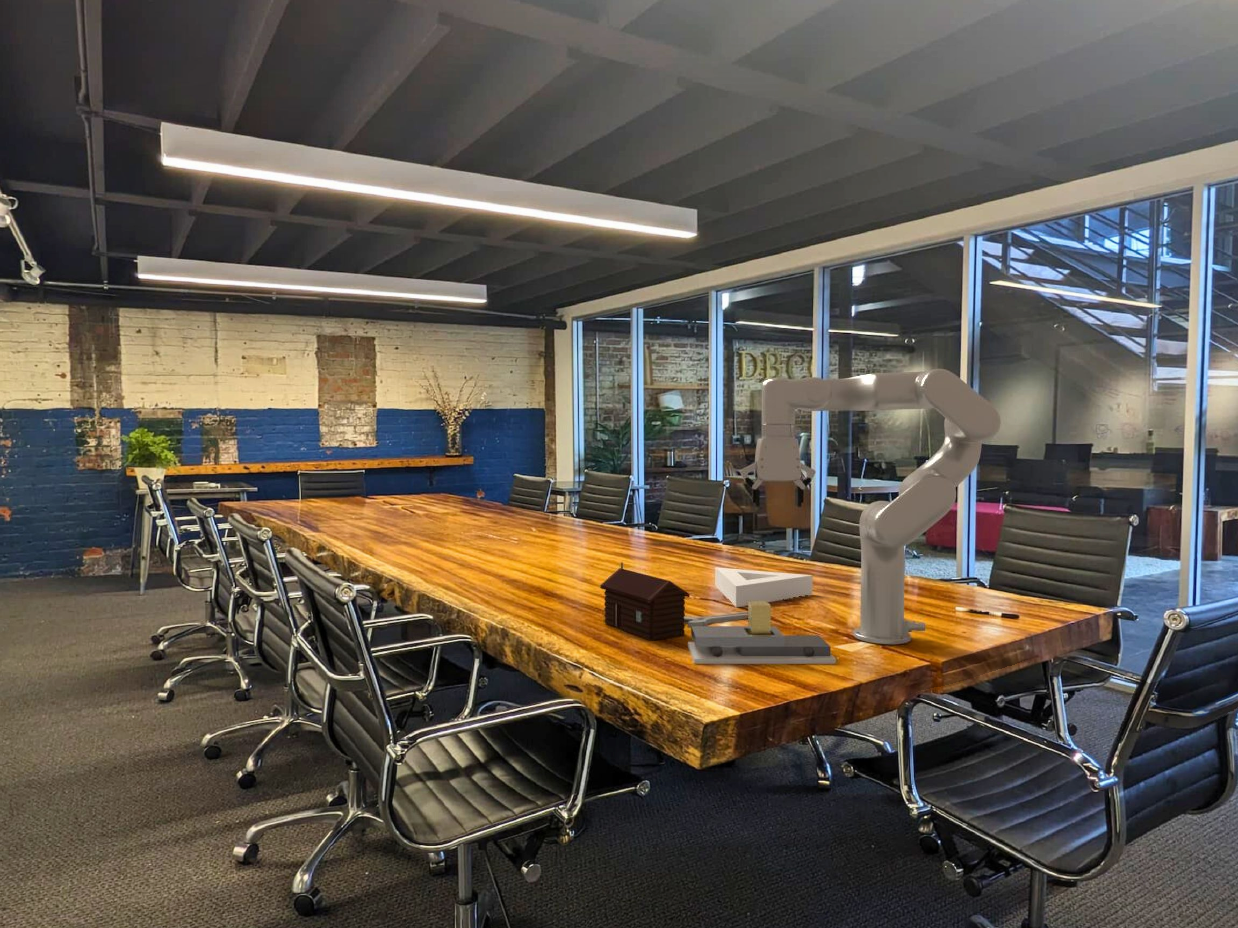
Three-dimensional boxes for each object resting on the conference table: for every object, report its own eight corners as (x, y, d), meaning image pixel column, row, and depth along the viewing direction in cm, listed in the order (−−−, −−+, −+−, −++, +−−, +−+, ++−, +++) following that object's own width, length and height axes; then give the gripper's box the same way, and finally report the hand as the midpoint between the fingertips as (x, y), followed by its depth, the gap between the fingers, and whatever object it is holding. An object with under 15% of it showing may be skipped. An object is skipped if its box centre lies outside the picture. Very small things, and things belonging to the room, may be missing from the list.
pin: (766, 647, 165) (766, 601, 165) (770, 652, 161) (770, 605, 161) (748, 647, 165) (748, 601, 164) (751, 652, 161) (751, 605, 160)
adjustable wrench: (760, 616, 200) (760, 609, 200) (773, 621, 194) (774, 614, 194) (674, 623, 191) (674, 616, 191) (685, 630, 185) (685, 622, 185)
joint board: (818, 646, 170) (818, 641, 170) (835, 663, 157) (835, 658, 157) (687, 646, 169) (687, 641, 169) (694, 663, 156) (694, 658, 156)
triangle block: (735, 609, 208) (736, 586, 208) (677, 592, 230) (677, 571, 230) (812, 596, 225) (812, 575, 225) (750, 582, 246) (751, 562, 246)
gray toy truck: (818, 643, 168) (818, 625, 168) (831, 656, 158) (831, 637, 158) (690, 643, 168) (690, 625, 168) (695, 656, 158) (695, 637, 158)
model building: (600, 623, 190) (600, 563, 189) (638, 617, 196) (638, 559, 196) (649, 642, 173) (649, 576, 172) (689, 635, 179) (689, 571, 179)
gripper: (811, 432, 181) (810, 504, 181) (738, 432, 180) (737, 504, 181) (819, 432, 173) (818, 507, 174) (743, 432, 173) (742, 507, 173)
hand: (777, 506), depth 177 cm, fingers open, 9 cm apart
